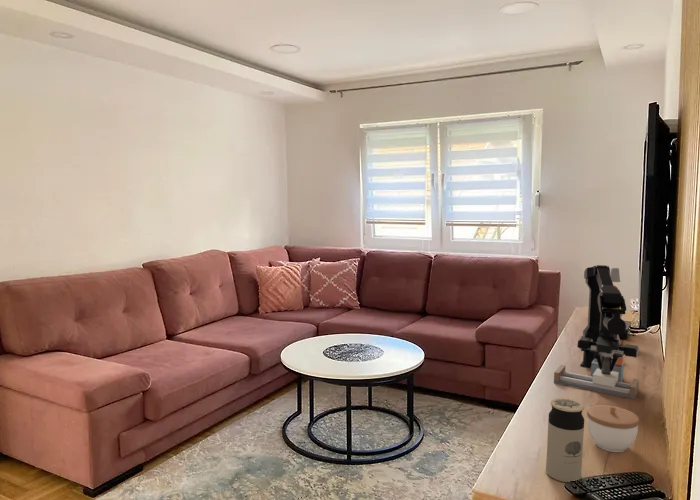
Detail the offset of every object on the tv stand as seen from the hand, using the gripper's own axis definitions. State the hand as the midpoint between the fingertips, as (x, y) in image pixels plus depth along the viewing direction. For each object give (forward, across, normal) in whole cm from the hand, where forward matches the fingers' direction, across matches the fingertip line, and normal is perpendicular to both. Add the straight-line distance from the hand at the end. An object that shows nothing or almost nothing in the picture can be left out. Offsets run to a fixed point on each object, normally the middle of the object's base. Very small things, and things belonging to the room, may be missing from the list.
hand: (606, 370), depth 184 cm
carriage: (+4, 0, 0) cm, 4 cm away
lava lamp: (+7, -9, +65) cm, 66 cm away
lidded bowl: (+7, +9, -46) cm, 47 cm away
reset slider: (0, +2, +11) cm, 11 cm away
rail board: (+6, -3, 0) cm, 7 cm away
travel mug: (+7, +2, -69) cm, 69 cm away
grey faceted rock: (+7, -6, +38) cm, 39 cm away
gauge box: (+6, -1, +11) cm, 13 cm away
